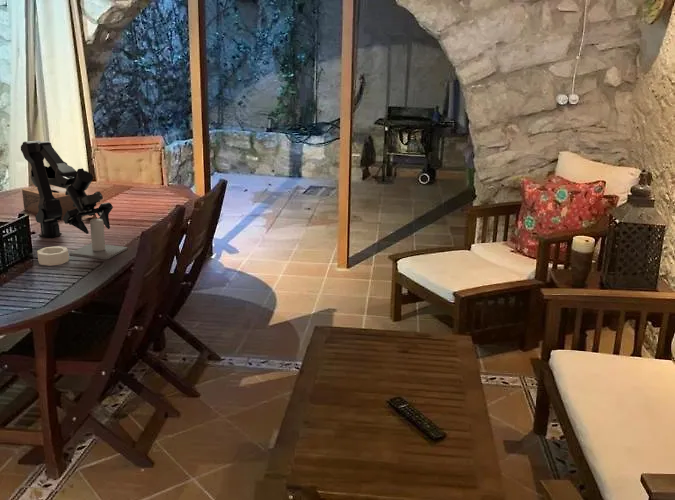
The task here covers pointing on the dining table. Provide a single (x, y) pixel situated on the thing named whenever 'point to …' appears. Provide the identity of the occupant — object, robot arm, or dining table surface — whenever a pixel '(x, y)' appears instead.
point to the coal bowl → (49, 177)
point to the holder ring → (53, 255)
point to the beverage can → (97, 234)
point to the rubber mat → (105, 254)
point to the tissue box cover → (33, 198)
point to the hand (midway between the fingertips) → (98, 230)
